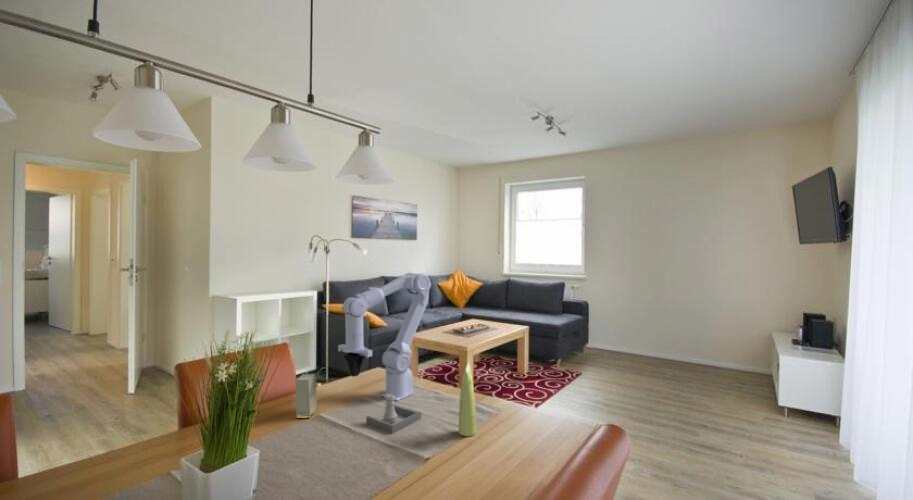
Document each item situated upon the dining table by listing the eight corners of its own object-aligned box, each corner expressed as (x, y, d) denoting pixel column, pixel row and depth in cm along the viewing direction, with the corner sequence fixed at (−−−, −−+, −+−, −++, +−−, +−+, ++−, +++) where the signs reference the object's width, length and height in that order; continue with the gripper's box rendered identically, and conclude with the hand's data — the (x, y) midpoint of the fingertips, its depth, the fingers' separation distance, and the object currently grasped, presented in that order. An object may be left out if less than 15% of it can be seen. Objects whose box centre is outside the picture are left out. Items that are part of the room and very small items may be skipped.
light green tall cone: (481, 434, 118) (480, 365, 117) (466, 439, 115) (465, 368, 114) (469, 427, 122) (468, 360, 122) (454, 431, 119) (454, 363, 119)
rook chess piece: (392, 416, 130) (391, 391, 130) (400, 420, 127) (400, 394, 127) (379, 420, 127) (379, 394, 127) (388, 425, 124) (387, 398, 124)
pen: (394, 410, 135) (394, 404, 135) (421, 418, 129) (421, 412, 129) (365, 424, 125) (365, 417, 125) (392, 433, 119) (392, 426, 119)
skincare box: (309, 419, 129) (309, 379, 129) (295, 419, 129) (294, 379, 129) (317, 410, 136) (316, 373, 135) (303, 410, 136) (302, 373, 135)
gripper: (330, 334, 139) (331, 374, 139) (360, 339, 130) (360, 383, 131) (347, 330, 145) (347, 369, 145) (376, 335, 136) (377, 377, 136)
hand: (355, 375), depth 138 cm, fingers closed
